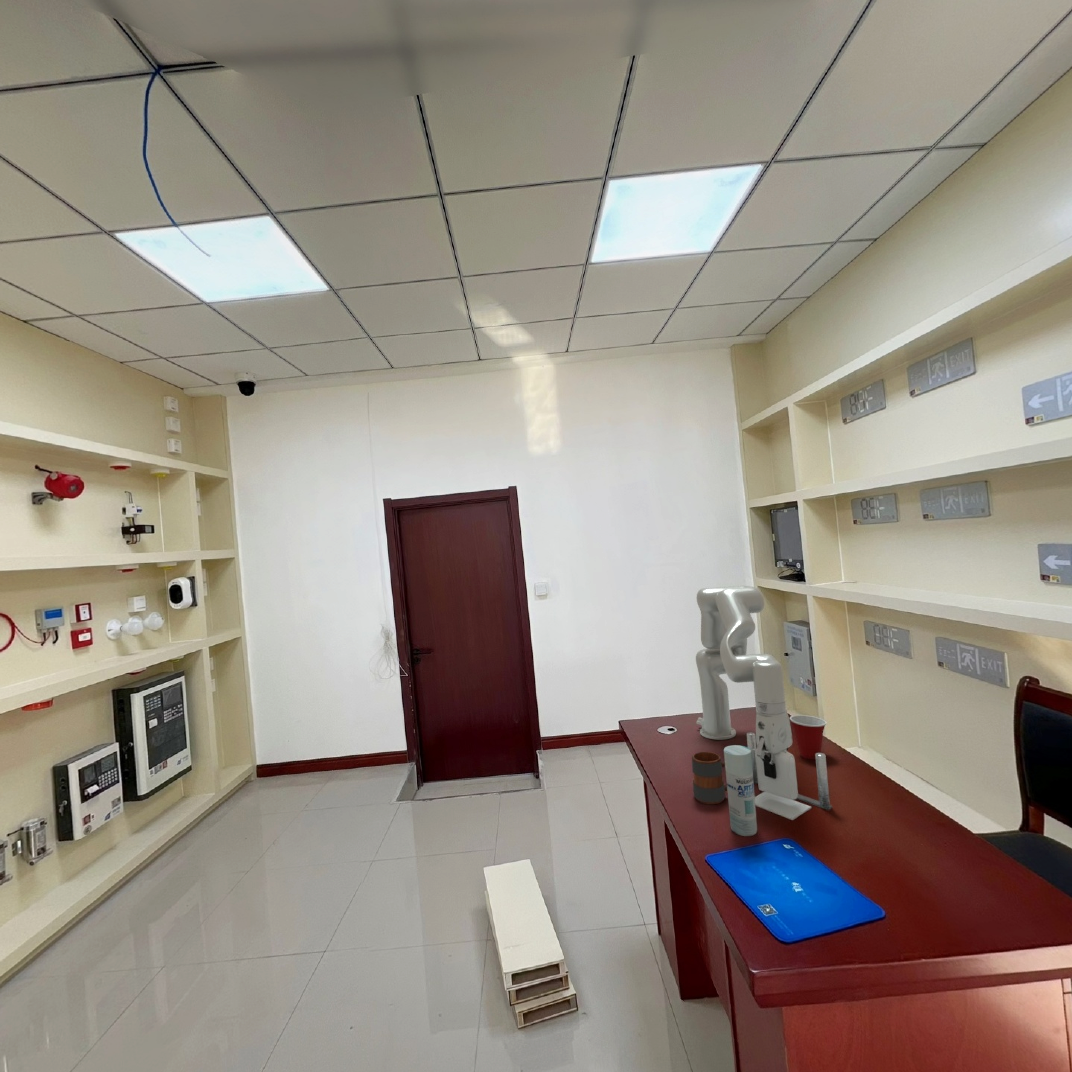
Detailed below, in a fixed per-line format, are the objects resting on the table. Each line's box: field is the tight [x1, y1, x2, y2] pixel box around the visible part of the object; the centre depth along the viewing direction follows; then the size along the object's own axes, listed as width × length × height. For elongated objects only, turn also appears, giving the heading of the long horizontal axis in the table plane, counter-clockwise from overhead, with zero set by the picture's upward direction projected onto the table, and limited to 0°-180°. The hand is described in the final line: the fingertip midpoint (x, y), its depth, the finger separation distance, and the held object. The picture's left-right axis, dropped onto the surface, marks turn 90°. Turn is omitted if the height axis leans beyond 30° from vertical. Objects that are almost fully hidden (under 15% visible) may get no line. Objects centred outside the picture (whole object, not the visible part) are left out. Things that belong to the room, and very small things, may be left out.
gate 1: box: [746, 731, 758, 784], centre depth 168 cm, size 3×17×14 cm, turn 124°
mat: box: [755, 791, 812, 821], centre depth 148 cm, size 13×9×1 cm
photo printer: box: [756, 747, 799, 801], centre depth 148 cm, size 10×4×12 cm, turn 39°
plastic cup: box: [789, 714, 827, 760], centre depth 178 cm, size 11×11×12 cm
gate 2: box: [795, 752, 833, 811], centre depth 152 cm, size 20×2×14 cm, turn 34°
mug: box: [691, 751, 728, 805], centre depth 155 cm, size 9×12×12 cm
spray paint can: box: [723, 744, 758, 837], centre depth 138 cm, size 6×6×20 cm
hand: (776, 773), depth 148 cm, fingers closed on photo printer, 4 cm apart
